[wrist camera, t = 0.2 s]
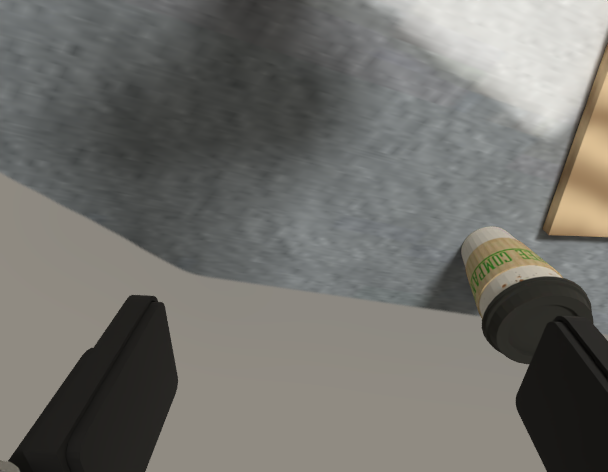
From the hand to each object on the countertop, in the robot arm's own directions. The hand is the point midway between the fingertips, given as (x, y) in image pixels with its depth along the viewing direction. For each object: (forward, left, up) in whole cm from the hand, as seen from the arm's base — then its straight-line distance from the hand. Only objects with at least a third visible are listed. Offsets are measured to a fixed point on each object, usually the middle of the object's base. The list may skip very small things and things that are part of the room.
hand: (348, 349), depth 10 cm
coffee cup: (+18, +20, -37) cm, 46 cm away
